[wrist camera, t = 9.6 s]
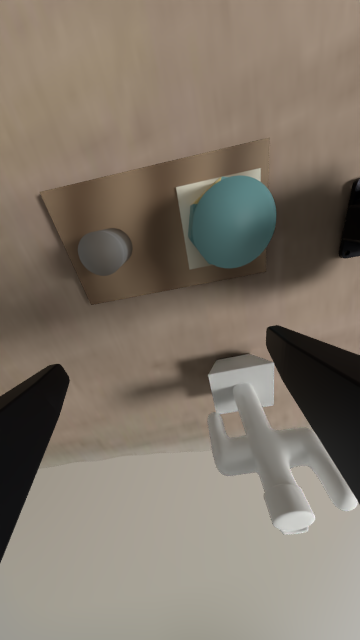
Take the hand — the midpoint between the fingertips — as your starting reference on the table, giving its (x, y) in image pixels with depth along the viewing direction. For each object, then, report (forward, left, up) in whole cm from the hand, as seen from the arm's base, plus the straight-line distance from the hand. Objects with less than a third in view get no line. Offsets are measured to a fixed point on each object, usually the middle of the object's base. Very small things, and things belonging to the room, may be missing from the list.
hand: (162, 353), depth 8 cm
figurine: (-6, +14, -13) cm, 20 cm away
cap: (-5, -4, -12) cm, 13 cm away
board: (0, -4, -13) cm, 13 cm away
